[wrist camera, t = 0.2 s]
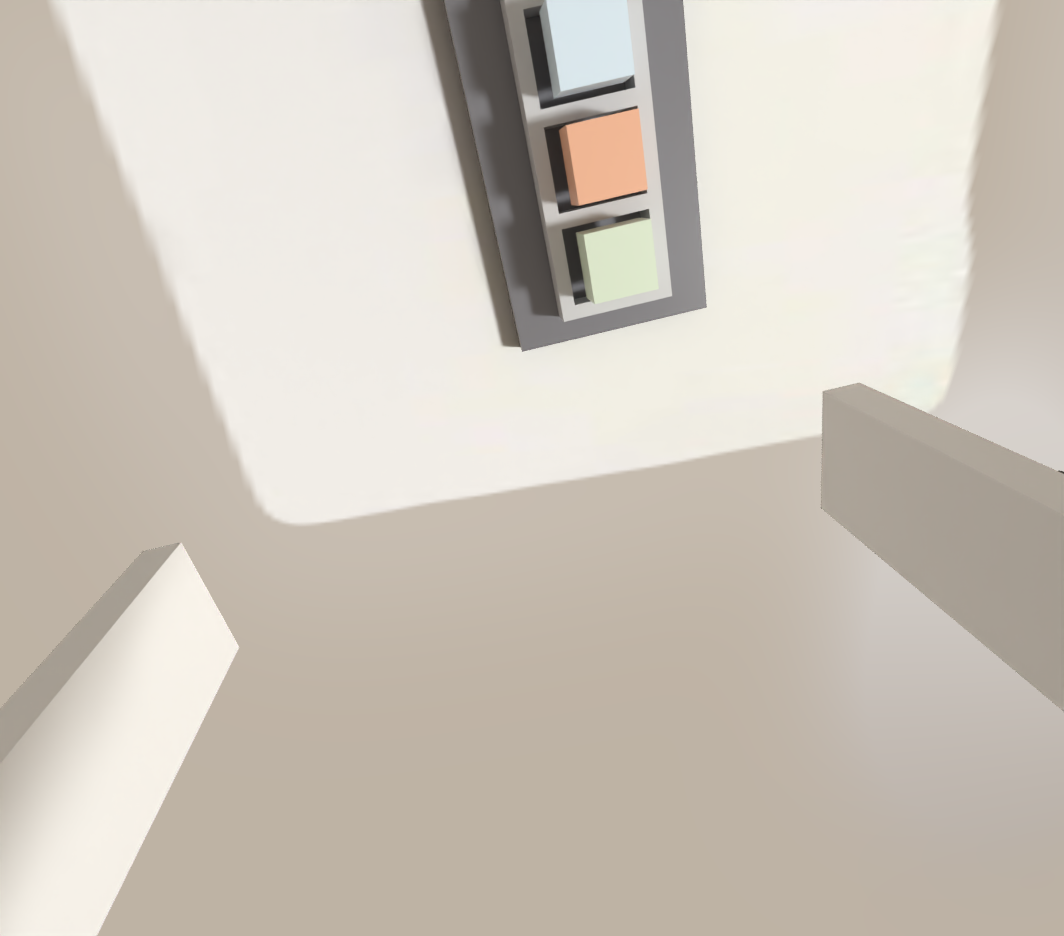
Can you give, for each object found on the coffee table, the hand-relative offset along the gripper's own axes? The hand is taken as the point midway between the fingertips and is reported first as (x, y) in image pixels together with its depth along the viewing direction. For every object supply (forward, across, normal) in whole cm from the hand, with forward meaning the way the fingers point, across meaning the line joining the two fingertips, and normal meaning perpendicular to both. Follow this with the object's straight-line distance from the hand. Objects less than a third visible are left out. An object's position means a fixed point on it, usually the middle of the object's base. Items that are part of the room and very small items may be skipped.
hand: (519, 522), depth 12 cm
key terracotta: (+24, +8, +7) cm, 26 cm away
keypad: (+27, +8, +9) cm, 30 cm away
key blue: (+24, +8, +12) cm, 27 cm away
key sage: (+24, +8, +2) cm, 25 cm away
